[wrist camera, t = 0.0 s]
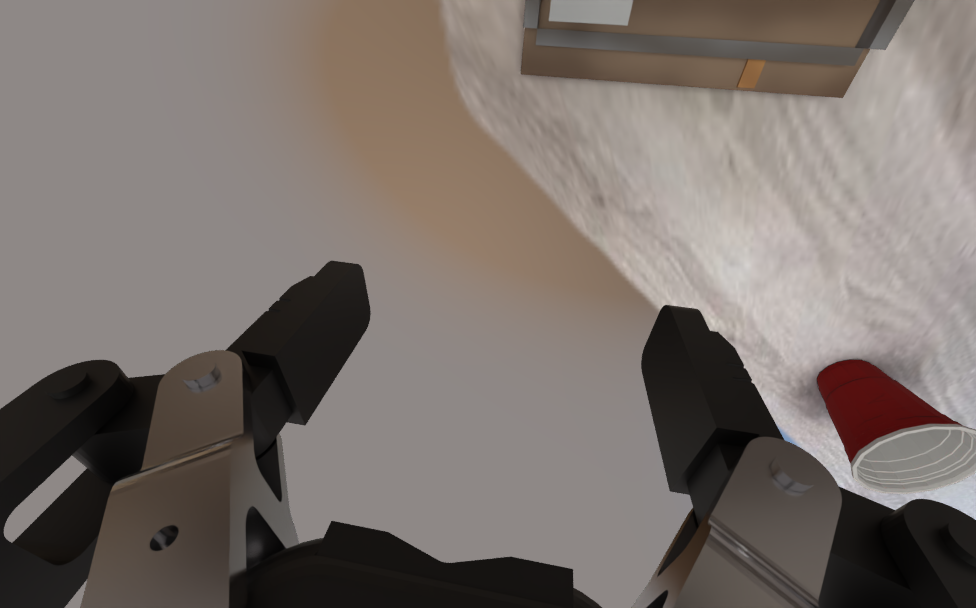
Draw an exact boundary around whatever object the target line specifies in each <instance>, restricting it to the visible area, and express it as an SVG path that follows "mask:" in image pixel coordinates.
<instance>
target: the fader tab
mask: <svg viewBox="0 0 976 608" xmlns="http://www.w3.org/2000/svg"><path fill="white" fill-rule="evenodd" d="M632 3H633V0H551V6H550V14H549V21H555V22H572V23H588V24H605V25H622V26H628V21H629V17H630V12H631V8H632Z"/></svg>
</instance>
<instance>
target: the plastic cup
mask: <svg viewBox="0 0 976 608" xmlns="http://www.w3.org/2000/svg"><path fill="white" fill-rule="evenodd" d="M817 382H818V386H819V390H820V392H821V395H822V397H823V399H824V401H825V403H826V408H827V410H828V412H829V415H830V417H831V419H832V421H833V423H834V426H835V428H836V430H837V432H838V434H839V436H840V439H841V441H842V443H843V445H844V448H845V452H846V454H847V455H848V459H849V461H850V463H851V471H852V476H853V478H854V480H855V481H857V482H858V483H859V484H860V485H861V486H863V487H864V488H866V489H870V490H873V491H877V492H880V493H891V494H910V493H918V492H925V491H932V490H936V489H939V488H942V487H945V486H948V485H952V484H955V483H958V482H960V481H962V480H963V479H965V478H967V477H969V476H971V475H973V474H975V473H976V430H975V429H972V428H968V427H965V426H962V425H961V424H959V423H958V422H956V421H953V420H952V419H950V418H949V417H947V416H946V415H944V414H941V413H940V412H938V411H937V410H936V409H934V408H933V407H932V406H930V405H929V404H927V403H926V402H925V401H923V400H922V399H921V398H919V397H918V396H916V395H915V394H914V393H912V392H911V391H910V390H908V389H907V388H905V387H904V386H903V385H901V384H900V383H899V382H897V381H896V380H893V379H892V378H890V377H889V376H888V375H886V374H885V373H884V372H882V371H881V370H880V369H879V368H877V367H876V366H874V365H872V364H870V363H869V362H866V361H863V360H846V361H841V362H837V363H835V364H833V365H830V366H828V367H827V368H825V369H824V370H823V371H822V372H820V374H819V376H818V378H817Z"/></svg>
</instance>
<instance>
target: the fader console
mask: <svg viewBox="0 0 976 608" xmlns="http://www.w3.org/2000/svg"><path fill="white" fill-rule="evenodd" d="M913 2H914V0H633V3H632V8H631V12H630V17H629V21H628V26H622V25H605V24H588V23H572V22H555V21H549V14H550V6H551V0H526V1H525V13H524V24H523V28H525V31H524V43H523V54H522V66H521V74H525V75H539V76H552V77H566V78H579V79H593V80H607V81H620V82H634V83H648V84H661V85H675V86H688V87H702V88H716V89H729V90H743V91H757V92H770V93H784V94H798V95H811V96H825V97H838V98H843V97H844V95H845V93H846V91H847V89H848V88H849V86H850V84H851V82H852V81H853V79H854V77H855V75H856V73H857V72H858V70H859V68H860V66H861V65H862V63H863V61H864V59H865V57H866V56H867V54H868V52H869V50H870V49H882V50H886V48H887V46H888V45H889V43H890V41H891V40H892V38H893V36H894V34H895V33H896V31H897V29H898V28H899V26H900V24H901V22H902V21H903V19H904V17H905V16H906V14H907V12H908V10H909V9H910V7H911V5H912V4H913Z"/></svg>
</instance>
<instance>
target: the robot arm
mask: <svg viewBox="0 0 976 608" xmlns="http://www.w3.org/2000/svg"><path fill="white" fill-rule="evenodd" d="M369 321H370V305H369V299H368V294H367V289H366V283H365V278H364V273H363V269H362V267H361V266H360V265H359V264H353V263H345V262H338V261H330V262H328V263H327V264H326V265H325V266H324V267H323V268H322V269H321V270H320V271H319V272H318V273H317V274H316V275H315V276H314V277H313V276H310V277H308V278H306V279H304V280H302V281H301V282H298V283H296V284H295V285H293V286H291V287H290V288H289V289H288V290H287V291H286V292H285V293H284V294H283V295H282V296H281V297H280V300H279V301H276V302H275V303H274V304H273V305H272V306H271V307H270V308H269V311H266V312H265V313H264V314H263V315H262V316H260V318H258V319H257V321H255V322H254V323H253V324H252V325H251V326H250V327H249V328H248V329H247V330H246V331H245V332H244V333H243V334H242V335H241V336H240V337H239V338H238V339H237V340H236V341H235V342H234V343H233V344H232V345H231V346H230V347H228V349H227V350H225V351H224V350H215V351H208V352H204V353H200V354H197V355H194V356H192V357H189V358H187V359H185V360H183V361H182V362H180V363H178V364H177V365H176V366H174V367H173V368H171V369H170V370H169V371H168V372H167V373H166V374H163V375H153V376H144V377H135V378H128V377H127V376H126V375H125V374H124V373H123V371H122V370H121V369H120V368H119V366H118V365H117V364H115V363H113V362H112V361H108V360H91V361H85V362H81V363H77V364H74V365H71V366H68V367H66V368H63V369H61V370H58V371H56V372H54V373H52V374H50V375H48V376H47V377H45V378H43V379H42V380H40V381H39V382H37V383H36V384H34V385H33V386H32V387H30V388H29V389H28V390H26V391H25V392H23V393H22V394H21V395H19V396H18V397H17V398H15V399H14V400H13V401H11V402H10V403H8V404H7V405H5V406H4V407H3V408H1V409H0V608H64V607H65V606H66V605H67V604H68V602H69V601H70V600H71V599H72V597H73V596H74V595H75V594H76V592H77V591H78V590H79V589H80V587H81V586H82V585H83V584H84V582H85V581H86V580H87V583H86V587H85V591H84V595H83V599H82V603H81V607H80V608H602V607H601V606H599V605H598V604H597V603H596V602H595V601H593V600H592V599H590V598H589V597H588V596H586V595H585V594H583V593H582V592H580V591H578V590H577V589H575V588H573V569H569V568H564V567H559V566H554V565H549V564H544V563H539V562H534V561H529V560H524V559H519V558H514V557H504V558H494V559H485V560H475V561H465V562H456V563H444V562H441V561H438V560H437V559H435V558H433V557H431V556H430V555H428V554H426V553H424V552H422V551H421V550H419V549H417V548H415V547H414V546H412V545H410V544H408V543H406V542H405V541H403V540H401V539H399V538H398V537H395V536H394V535H392V534H390V533H389V532H385V531H380V530H375V529H370V528H365V527H360V526H355V525H350V524H344V523H340V522H335V521H331V523H330V525H329V528H328V530H327V532H326V534H325V536H324V538H320V539H315V540H311V541H307V542H303V543H300V544H299V541H298V537H297V533H296V529H295V526H294V523H293V521H292V517H291V513H290V508H289V501H288V492H287V483H286V473H285V465H284V455H283V446H282V439H281V436H280V434H279V432H280V431H281V429H282V428H283V426H284V425H285V423H286V422H289V423H294V424H300V425H306V423H307V422H308V420H309V419H310V417H311V416H312V414H313V412H314V411H315V409H316V408H317V406H318V405H319V403H320V402H321V400H322V398H323V397H324V395H325V393H326V392H327V391H328V389H329V387H330V386H331V384H332V383H333V381H334V380H335V378H336V377H337V375H338V373H339V372H340V370H341V369H342V367H343V365H344V364H345V362H346V361H347V359H348V358H349V356H350V354H351V353H352V351H353V350H354V348H355V347H356V345H357V343H358V342H359V341H360V339H361V337H362V335H363V334H364V333H365V331H366V329H367V327H368V324H369ZM641 368H642V374H643V378H644V383H645V387H646V391H647V395H648V400H649V404H650V408H651V412H652V416H653V421H654V425H655V430H656V434H657V438H658V442H659V447H660V451H661V455H662V459H663V463H664V468H665V472H666V476H667V481H668V485H669V489H670V491H672V492H677V493H683V494H689V495H690V497H691V500H692V504H693V508H692V509H691V511H690V512H689V513H688V515H687V517H686V518H685V520H684V522H683V524H682V525H681V527H680V529H679V531H678V533H677V534H676V536H675V538H674V539H673V541H672V543H671V545H670V546H669V548H668V550H667V552H666V553H665V555H664V557H663V559H662V561H661V562H660V564H659V566H658V568H657V570H656V571H655V573H654V574H653V576H652V578H651V580H650V581H649V583H648V584H647V586H646V587H645V589H644V590H643V592H642V593H641V594H640V596H639V597H638V598H637V600H636V602H635V603H634V605H633V606H632V607H631V608H976V520H975V519H973V518H972V517H970V516H968V515H966V514H965V513H963V512H961V511H959V510H957V509H955V508H953V507H951V506H948V505H945V504H943V503H940V502H936V501H933V500H927V499H916V500H912V501H910V502H908V503H907V504H905V505H903V506H902V507H900V508H899V509H897V510H893V509H891V508H889V507H886V506H884V505H881V504H879V503H877V502H874V501H872V500H869V499H867V498H865V497H862V496H860V495H857V494H855V493H853V492H850V491H848V490H846V489H843V488H841V487H839V486H838V485H837V483H836V481H835V479H834V478H833V476H832V475H831V474H830V472H829V471H828V470H827V469H826V468H825V467H824V466H823V465H822V464H821V463H820V462H819V461H818V460H817V459H816V458H814V457H813V456H812V455H811V454H809V453H808V452H806V451H805V450H803V449H802V448H800V447H798V446H796V445H794V444H792V443H790V442H787V441H785V440H784V439H783V437H782V435H781V433H780V431H779V429H778V427H777V426H776V424H775V422H774V420H773V418H772V416H771V414H770V413H769V411H768V409H767V407H766V405H765V403H764V401H763V400H762V398H761V396H760V394H759V392H758V390H757V388H756V387H755V385H754V384H753V383H751V381H752V379H751V377H750V375H749V374H748V372H747V370H746V369H744V364H743V362H742V361H741V359H740V357H739V355H738V353H737V351H736V349H735V348H734V347H733V346H732V345H731V344H730V343H729V342H728V341H727V340H726V339H725V338H724V337H723V336H722V335H720V334H719V333H718V332H714V331H710V330H709V328H708V326H707V324H706V322H705V320H704V318H703V316H702V314H701V312H700V311H699V310H698V309H693V308H685V307H678V306H670V305H665V306H663V307H662V309H661V310H660V312H659V315H658V317H657V319H656V322H655V324H654V326H653V329H652V331H651V333H650V336H649V338H648V340H647V343H646V345H645V347H644V350H643V354H642V361H641ZM71 455H72V456H74V457H75V458H76V459H77V460H78V461H80V462H81V463H82V464H83V465H84V466H86V467H87V469H86V470H85V471H84V472H83V473H82V474H81V475H80V476H79V477H78V478H77V479H76V480H75V481H74V482H73V483H72V484H71V485H70V486H69V487H68V488H67V489H66V490H65V491H64V492H63V493H62V494H61V495H60V496H59V497H58V498H57V499H56V500H55V501H54V502H53V503H52V504H51V505H50V506H49V507H48V508H47V509H46V510H45V511H44V512H43V513H42V514H41V515H40V516H39V517H38V518H37V519H36V520H35V521H34V522H33V523H32V524H31V525H30V526H29V527H28V528H27V529H26V530H25V531H24V532H23V533H22V534H21V535H20V536H19V537H18V538H17V539H16V540H15V541H14V542H13V543H11V542H9V541H8V540H7V539H6V538H5V537H4V533H3V532H4V526H5V523H6V521H7V518H8V517H9V515H10V514H11V513H12V511H13V510H14V509H15V508H16V507H17V506H18V505H19V504H20V503H21V502H22V501H23V500H24V499H25V498H27V497H28V496H29V495H30V494H31V493H32V492H33V491H34V490H35V489H36V488H37V487H38V486H39V485H40V484H42V483H43V482H44V481H45V480H46V479H47V478H48V477H49V476H50V475H51V474H52V473H53V472H54V471H55V470H56V469H57V468H59V467H60V466H61V465H62V464H63V463H64V462H65V461H66V460H67V459H68V458H69V457H70V456H71Z"/></svg>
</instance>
